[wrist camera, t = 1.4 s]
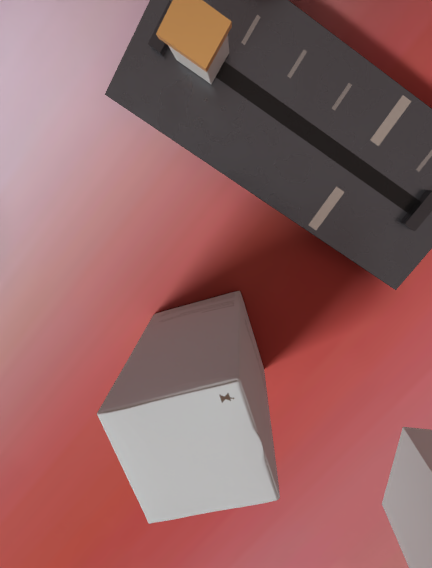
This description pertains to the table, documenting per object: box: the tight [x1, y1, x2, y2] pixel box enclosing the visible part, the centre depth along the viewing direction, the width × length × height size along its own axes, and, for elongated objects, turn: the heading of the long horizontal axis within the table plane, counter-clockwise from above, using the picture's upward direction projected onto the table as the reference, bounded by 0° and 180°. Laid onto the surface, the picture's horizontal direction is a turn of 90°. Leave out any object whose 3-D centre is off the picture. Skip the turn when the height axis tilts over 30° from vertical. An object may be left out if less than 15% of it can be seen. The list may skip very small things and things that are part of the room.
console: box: [105, 0, 432, 290], centre depth 28 cm, size 28×12×3 cm, turn 57°
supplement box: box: [97, 291, 280, 524], centre depth 28 cm, size 9×9×15 cm
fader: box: [156, 0, 232, 84], centre depth 24 cm, size 3×3×6 cm
